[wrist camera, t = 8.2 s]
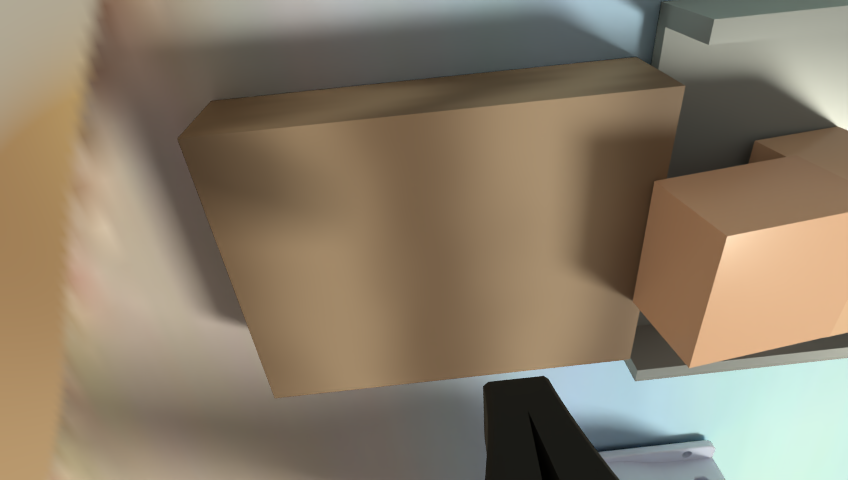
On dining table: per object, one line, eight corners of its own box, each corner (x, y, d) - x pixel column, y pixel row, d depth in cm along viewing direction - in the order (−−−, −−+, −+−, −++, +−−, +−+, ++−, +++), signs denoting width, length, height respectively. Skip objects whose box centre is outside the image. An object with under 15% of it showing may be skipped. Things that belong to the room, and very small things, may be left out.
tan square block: (755, 140, 16) (837, 126, 17) (721, 254, 19) (794, 239, 19) (886, 207, 13) (990, 187, 13) (824, 337, 15) (912, 318, 15)
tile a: (796, 155, 15) (895, 203, 12) (754, 275, 17) (829, 335, 15) (654, 180, 14) (727, 236, 12) (632, 301, 17) (689, 368, 14)
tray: (1052, -39, 15) (1178, -29, 12) (870, 301, 22) (929, 348, 20) (661, 1, 15) (714, 19, 12) (607, 330, 22) (635, 381, 19)
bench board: (636, 56, 15) (685, 85, 13) (600, 305, 21) (629, 359, 18) (211, 100, 15) (177, 138, 13) (287, 339, 21) (274, 398, 18)
